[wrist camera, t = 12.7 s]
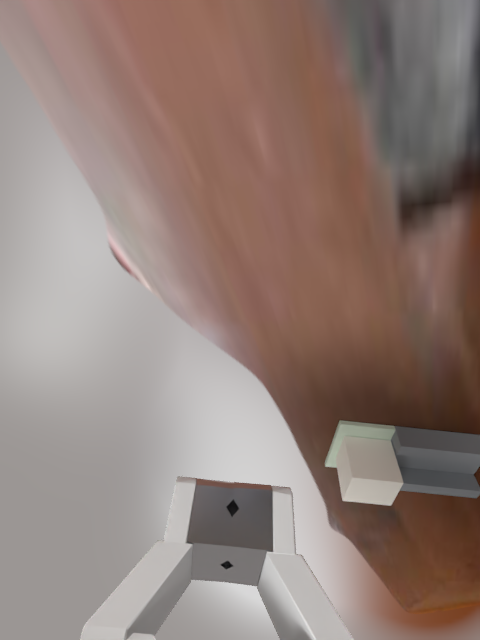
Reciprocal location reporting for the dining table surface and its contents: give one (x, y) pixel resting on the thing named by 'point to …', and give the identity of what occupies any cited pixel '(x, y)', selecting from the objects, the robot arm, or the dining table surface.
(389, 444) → the block
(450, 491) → the chute
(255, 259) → the dining table surface
